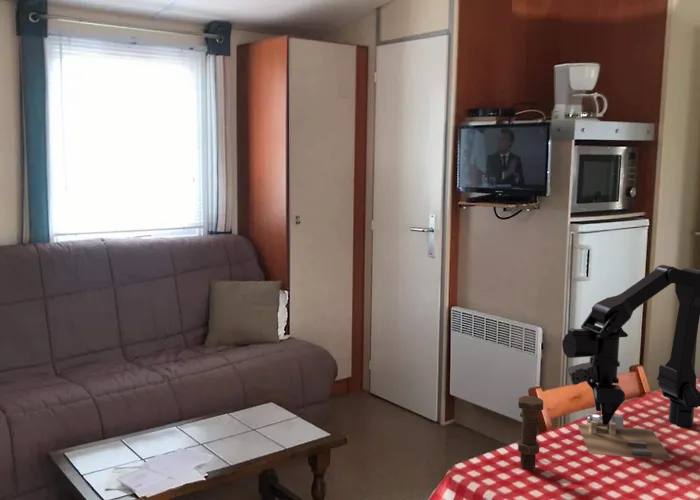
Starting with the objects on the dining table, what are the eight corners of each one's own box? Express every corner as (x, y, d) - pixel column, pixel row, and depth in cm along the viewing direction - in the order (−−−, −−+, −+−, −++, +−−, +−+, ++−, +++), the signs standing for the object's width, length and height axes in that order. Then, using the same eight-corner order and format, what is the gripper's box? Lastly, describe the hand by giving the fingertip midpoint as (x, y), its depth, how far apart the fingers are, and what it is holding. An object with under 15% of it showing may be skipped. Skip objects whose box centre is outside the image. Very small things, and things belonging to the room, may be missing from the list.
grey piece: (620, 427, 171) (620, 415, 171) (623, 428, 168) (623, 417, 168) (586, 424, 172) (586, 413, 172) (588, 426, 169) (588, 414, 170)
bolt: (540, 473, 148) (544, 405, 146) (515, 471, 149) (519, 403, 147) (538, 462, 154) (542, 396, 152) (515, 459, 155) (518, 394, 153)
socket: (627, 444, 162) (627, 440, 162) (645, 446, 161) (646, 442, 161) (632, 454, 156) (633, 450, 156) (651, 456, 156) (652, 452, 155)
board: (577, 427, 174) (577, 423, 174) (651, 432, 171) (651, 429, 171) (589, 456, 157) (589, 453, 157) (672, 463, 154) (672, 460, 154)
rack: (586, 424, 174) (587, 413, 174) (610, 426, 173) (611, 415, 173) (590, 433, 168) (591, 422, 168) (615, 435, 167) (616, 424, 167)
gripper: (565, 343, 179) (562, 402, 181) (576, 363, 160) (572, 429, 162) (611, 345, 177) (607, 405, 179) (627, 367, 158) (623, 433, 160)
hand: (601, 417), depth 170 cm, fingers open, 9 cm apart
